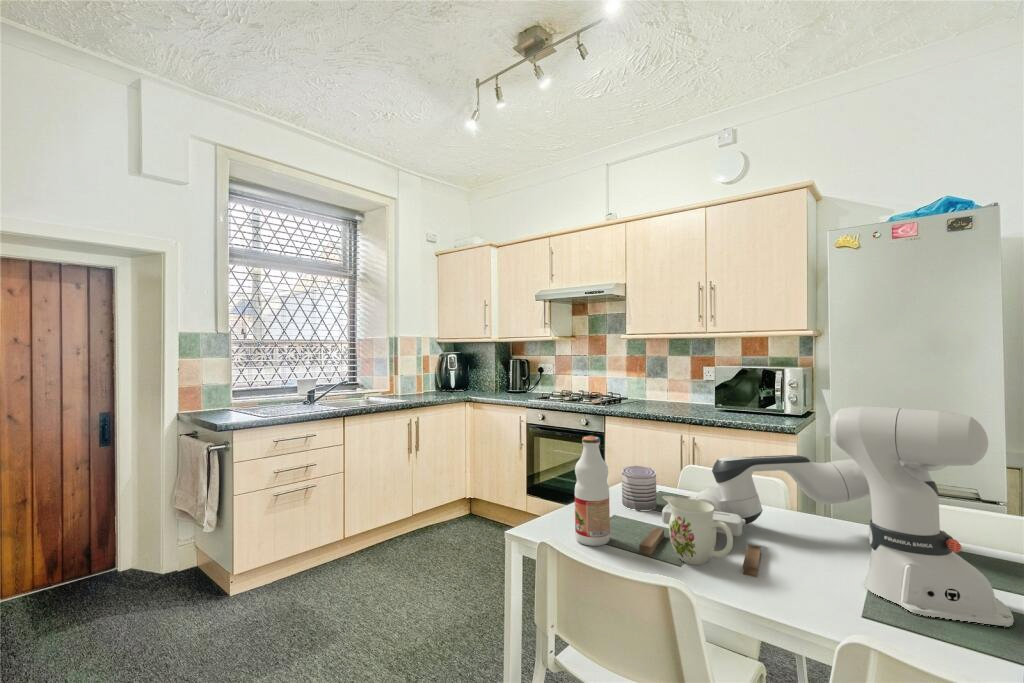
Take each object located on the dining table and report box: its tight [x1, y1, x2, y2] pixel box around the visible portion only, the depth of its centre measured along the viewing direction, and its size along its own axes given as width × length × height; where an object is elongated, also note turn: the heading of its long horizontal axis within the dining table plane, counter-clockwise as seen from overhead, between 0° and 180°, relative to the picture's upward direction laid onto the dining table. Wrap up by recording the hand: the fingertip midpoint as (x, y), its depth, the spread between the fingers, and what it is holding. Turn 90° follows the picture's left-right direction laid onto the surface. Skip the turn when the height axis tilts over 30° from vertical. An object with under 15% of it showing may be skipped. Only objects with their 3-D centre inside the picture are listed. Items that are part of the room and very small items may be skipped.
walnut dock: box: [638, 527, 762, 578], centre depth 121 cm, size 27×14×2 cm, turn 59°
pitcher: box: [661, 495, 734, 566], centre depth 117 cm, size 11×18×14 cm, turn 40°
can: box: [620, 465, 658, 510], centre depth 159 cm, size 11×11×12 cm
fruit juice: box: [574, 435, 611, 547], centre depth 130 cm, size 9×9×28 cm
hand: (696, 529), depth 122 cm, fingers closed, pressing on pitcher
